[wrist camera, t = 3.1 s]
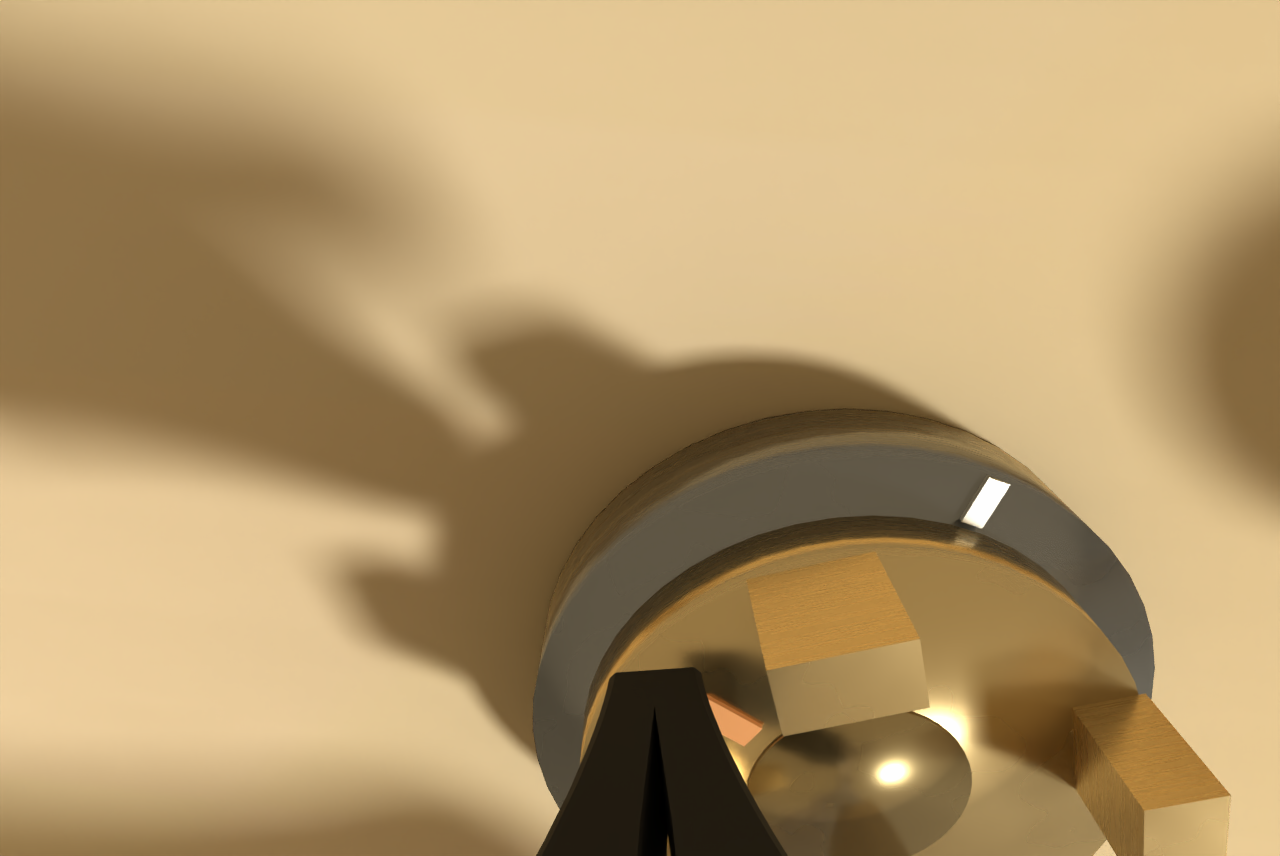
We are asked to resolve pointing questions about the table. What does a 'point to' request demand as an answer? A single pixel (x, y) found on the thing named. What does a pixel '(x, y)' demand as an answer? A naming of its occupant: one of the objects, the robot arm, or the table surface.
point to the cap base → (798, 493)
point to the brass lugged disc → (921, 698)
